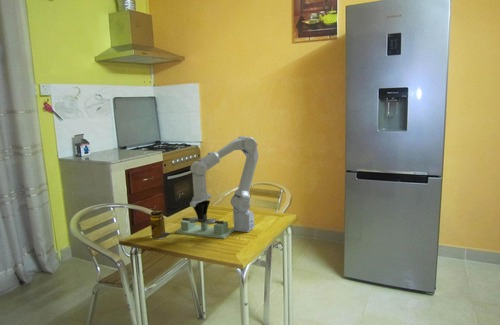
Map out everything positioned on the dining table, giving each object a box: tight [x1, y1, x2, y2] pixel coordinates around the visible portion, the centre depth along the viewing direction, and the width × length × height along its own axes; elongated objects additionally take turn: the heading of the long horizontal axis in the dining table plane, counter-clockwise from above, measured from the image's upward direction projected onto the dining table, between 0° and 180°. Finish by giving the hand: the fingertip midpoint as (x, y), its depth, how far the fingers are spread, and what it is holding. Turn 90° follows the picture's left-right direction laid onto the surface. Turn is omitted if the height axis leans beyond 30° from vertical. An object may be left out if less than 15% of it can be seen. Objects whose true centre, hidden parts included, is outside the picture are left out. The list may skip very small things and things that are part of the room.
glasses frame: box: [181, 214, 225, 225], centre depth 149 cm, size 21×5×3 cm, turn 68°
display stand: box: [174, 220, 235, 240], centre depth 156 cm, size 26×10×5 cm, turn 67°
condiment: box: [149, 209, 172, 240], centre depth 154 cm, size 7×8×12 cm
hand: (202, 217), depth 150 cm, fingers closed on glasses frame, 2 cm apart
